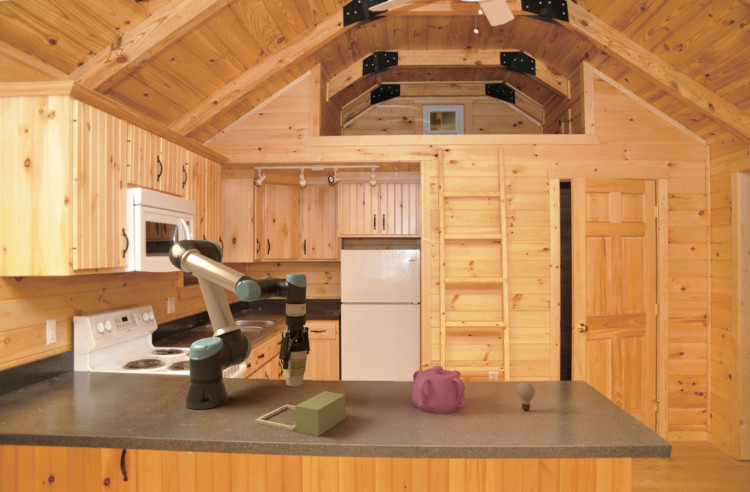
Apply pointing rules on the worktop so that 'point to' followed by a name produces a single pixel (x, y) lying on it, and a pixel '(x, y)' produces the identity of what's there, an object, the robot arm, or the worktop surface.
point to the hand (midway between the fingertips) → (294, 374)
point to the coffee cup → (297, 363)
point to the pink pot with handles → (438, 390)
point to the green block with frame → (312, 414)
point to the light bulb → (525, 394)
